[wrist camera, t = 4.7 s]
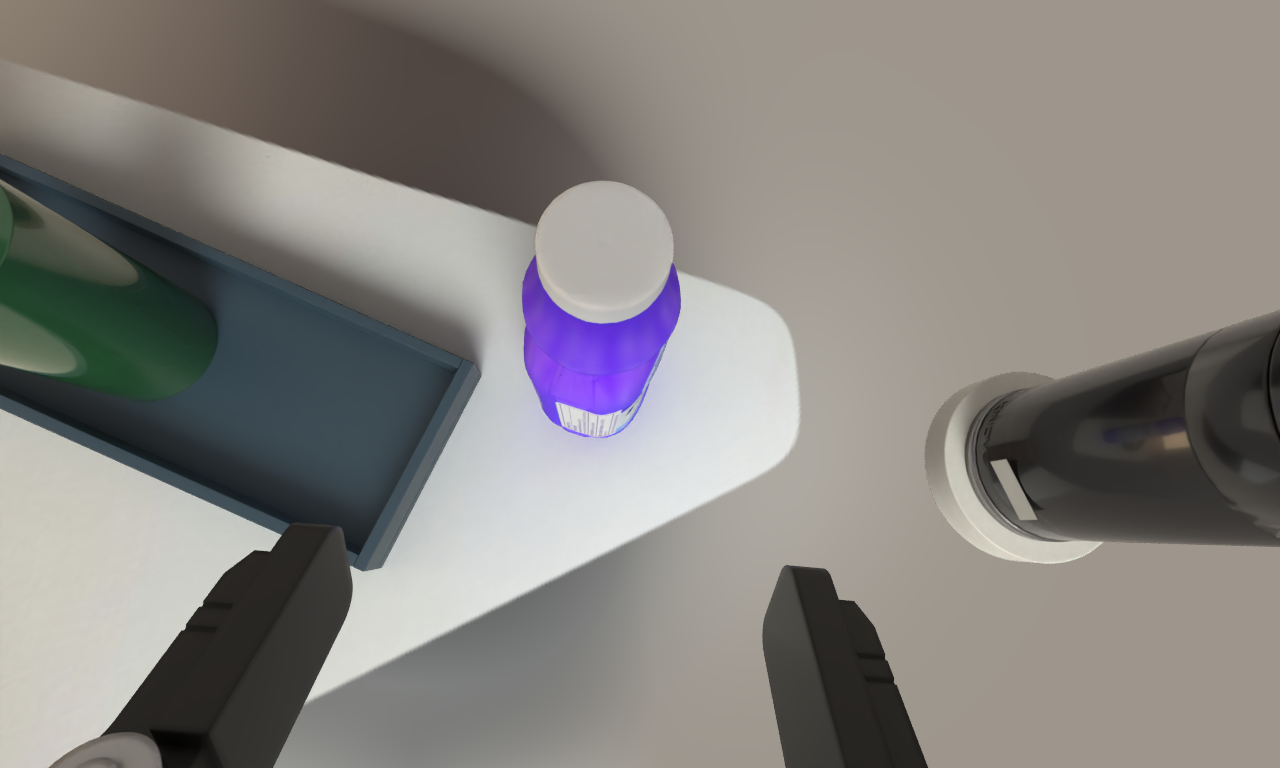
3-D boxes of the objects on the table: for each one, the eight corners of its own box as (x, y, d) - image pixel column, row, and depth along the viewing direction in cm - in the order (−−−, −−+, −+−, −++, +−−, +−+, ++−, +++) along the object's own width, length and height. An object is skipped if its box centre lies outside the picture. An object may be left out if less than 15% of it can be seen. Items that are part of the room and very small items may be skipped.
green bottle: (242, 315, 33) (-106, 99, 16) (173, 422, 31) (-290, 303, 15) (134, 267, 33) (-320, 5, 16) (60, 371, 31) (-527, 198, 15)
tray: (482, 375, 34) (473, 363, 31) (381, 568, 31) (363, 572, 28) (-40, 144, 34) (-89, 113, 32) (-184, 314, 31) (-251, 296, 29)
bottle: (624, 457, 33) (663, 386, 16) (526, 423, 33) (465, 318, 16) (663, 338, 35) (735, 164, 18) (570, 306, 35) (557, 103, 18)
